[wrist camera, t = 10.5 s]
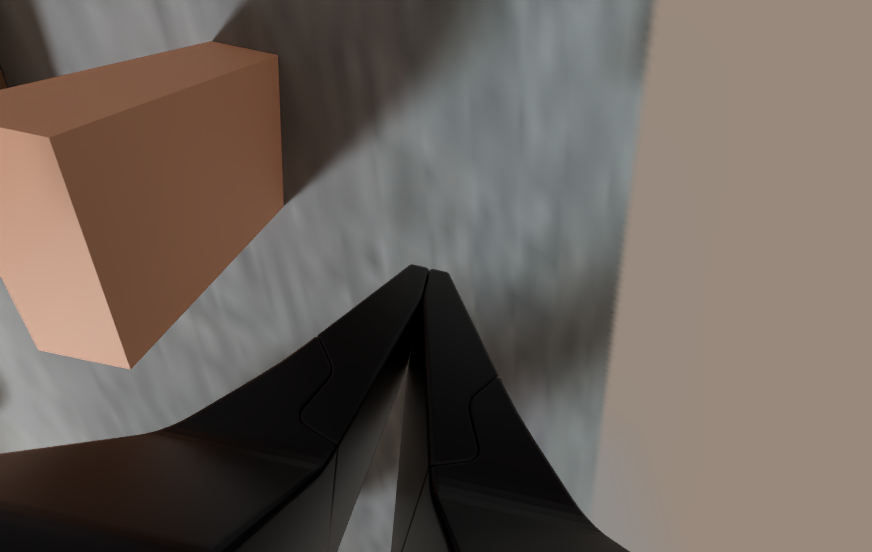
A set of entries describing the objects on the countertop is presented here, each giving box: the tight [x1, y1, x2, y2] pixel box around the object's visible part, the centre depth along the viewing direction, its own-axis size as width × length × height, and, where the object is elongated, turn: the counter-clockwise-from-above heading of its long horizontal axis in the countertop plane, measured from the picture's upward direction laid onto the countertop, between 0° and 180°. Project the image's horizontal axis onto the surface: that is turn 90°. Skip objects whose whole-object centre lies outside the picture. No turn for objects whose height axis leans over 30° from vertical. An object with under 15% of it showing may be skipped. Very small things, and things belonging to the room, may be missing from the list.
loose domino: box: [0, 41, 284, 370], centre depth 11 cm, size 2×5×8 cm, turn 170°
